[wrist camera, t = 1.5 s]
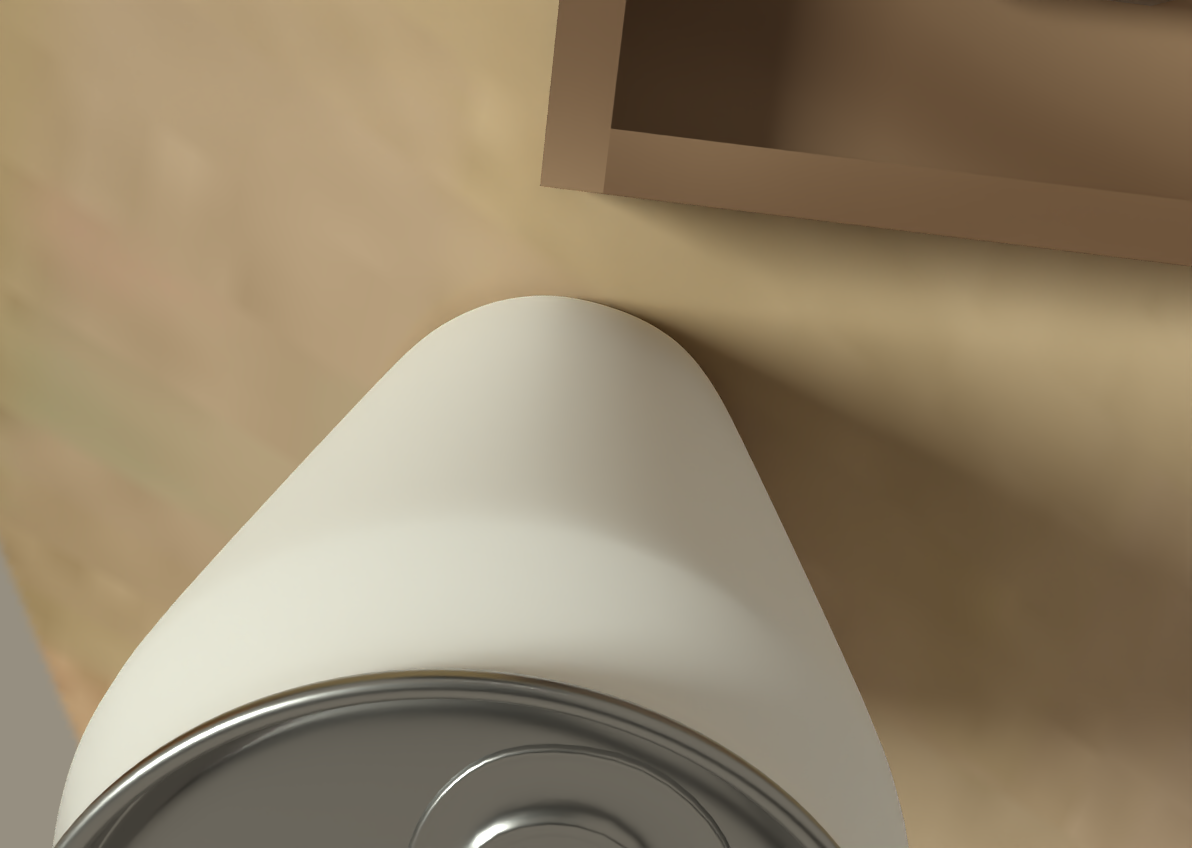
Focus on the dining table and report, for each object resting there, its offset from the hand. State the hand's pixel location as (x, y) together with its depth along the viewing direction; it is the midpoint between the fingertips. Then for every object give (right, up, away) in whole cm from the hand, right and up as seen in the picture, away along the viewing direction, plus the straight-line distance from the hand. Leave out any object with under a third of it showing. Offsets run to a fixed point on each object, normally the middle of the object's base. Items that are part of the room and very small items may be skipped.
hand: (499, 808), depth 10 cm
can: (0, +3, +8) cm, 9 cm away
